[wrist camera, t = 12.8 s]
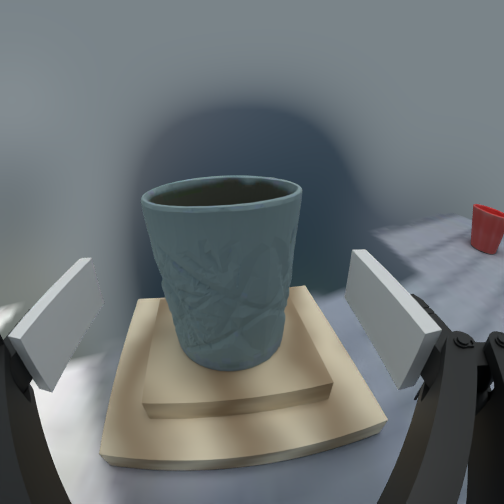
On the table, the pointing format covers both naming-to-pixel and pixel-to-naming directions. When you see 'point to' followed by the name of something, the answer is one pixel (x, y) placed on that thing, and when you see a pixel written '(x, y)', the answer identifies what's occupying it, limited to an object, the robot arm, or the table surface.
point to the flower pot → (486, 228)
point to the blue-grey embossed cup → (225, 263)
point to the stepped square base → (234, 397)
